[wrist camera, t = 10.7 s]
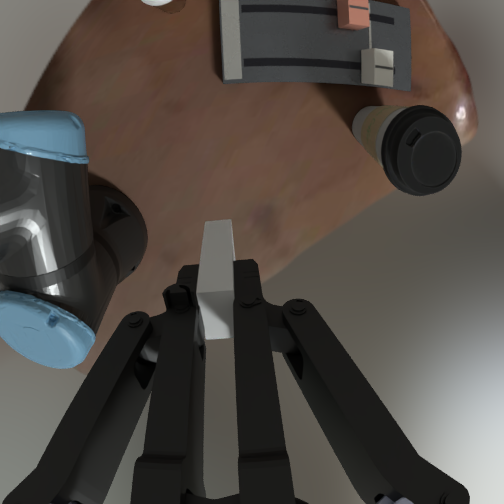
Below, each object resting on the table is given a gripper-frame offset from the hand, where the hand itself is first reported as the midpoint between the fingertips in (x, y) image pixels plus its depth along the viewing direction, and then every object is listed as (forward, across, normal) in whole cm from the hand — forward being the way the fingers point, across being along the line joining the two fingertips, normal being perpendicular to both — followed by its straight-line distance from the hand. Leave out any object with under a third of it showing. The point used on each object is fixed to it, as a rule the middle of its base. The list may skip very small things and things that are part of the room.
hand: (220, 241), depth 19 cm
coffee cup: (+24, +20, +2) cm, 31 cm away
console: (+24, +13, +14) cm, 31 cm away
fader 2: (+22, +18, +11) cm, 30 cm away
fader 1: (+22, +16, +18) cm, 32 cm away
